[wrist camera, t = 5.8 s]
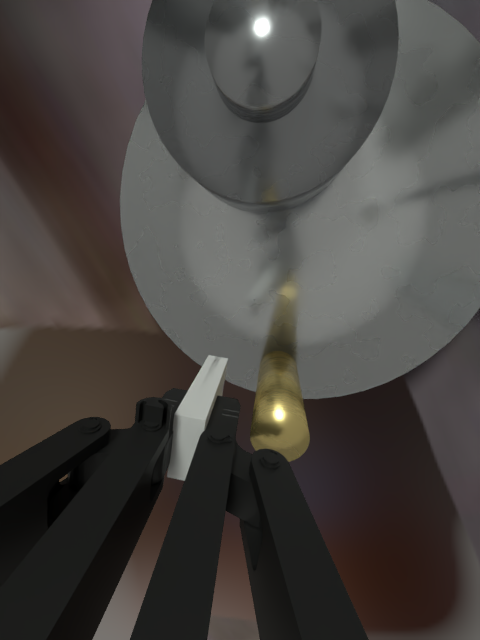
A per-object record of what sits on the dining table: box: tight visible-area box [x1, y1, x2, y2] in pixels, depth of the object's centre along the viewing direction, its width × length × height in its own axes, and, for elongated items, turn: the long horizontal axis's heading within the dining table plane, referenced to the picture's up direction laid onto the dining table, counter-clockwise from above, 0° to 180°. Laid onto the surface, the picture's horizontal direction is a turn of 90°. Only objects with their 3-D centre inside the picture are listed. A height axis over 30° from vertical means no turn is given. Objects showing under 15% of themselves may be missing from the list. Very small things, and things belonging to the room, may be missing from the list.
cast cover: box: [142, 0, 399, 213], centre depth 12 cm, size 10×10×6 cm
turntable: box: [120, 0, 480, 462], centre depth 14 cm, size 23×22×9 cm
